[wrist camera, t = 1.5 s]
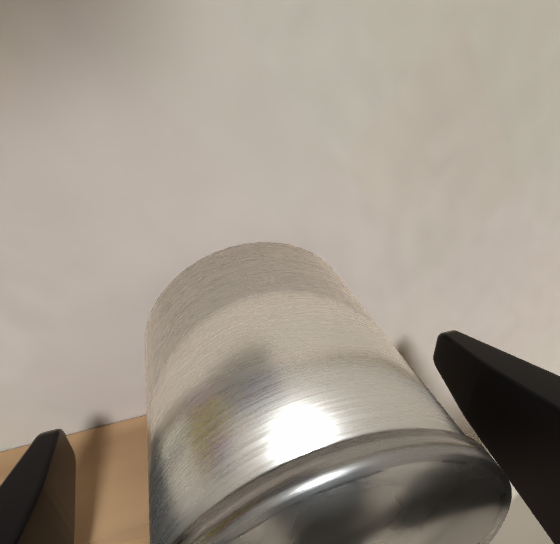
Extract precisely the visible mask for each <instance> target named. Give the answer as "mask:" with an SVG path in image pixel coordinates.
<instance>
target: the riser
mask: <svg viewBox="0 0 560 544" xmlns="http://www.w3.org/2000/svg"><path fill="white" fill-rule="evenodd" d="M66 437H67V439H68V441H69V443H70V445H71V447H72V449H73V451H74V453H75V458H76V490H75V537H74V544H150V534H149V491H148V448H147V415H144V416H141V417H137V418H133V419H129V420H125V421H121V422H117V423H113V424H109V425H105V426H101V427H97V428H93V429H89V430H86V431H82V432H78V433H74V434H70V435H66ZM29 446H30V445H27V446H23V447H19V448H15V449H11V450H7V451H3V452H0V485H1V484H2V483H3V481H4V480H5V479H6V477H7V476H8V474H9V473H10V472H11V470H12V469H13V468H14V466H15V465H16V464H17V462H18V461H19V460H20V458H21V457H22V456H23V454H24V453H25V452H26V450H27V449H28V448H29Z"/></svg>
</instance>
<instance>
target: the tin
mask: <svg viewBox="0 0 560 544" xmlns="http://www.w3.org/2000/svg"><path fill="white" fill-rule="evenodd" d="M145 361H146V404H147V448H148V491H149V534H150V544H489V543H490V542H491V540H492V539H493V538H494V536H495V535H496V534H497V532H498V530H499V528H500V527H501V525H502V523H503V522H504V520H505V518H506V515H507V513H508V511H509V507H510V503H511V499H512V492H511V485H510V482H509V479H508V477H507V476H506V475H505V473H504V472H503V471H502V469H501V468H500V467H499V466H498V464H497V463H496V462H495V461H494V460H493V458H492V457H491V456H490V455H489V454H488V452H487V451H486V450H485V449H484V447H483V446H482V445H480V444H479V443H478V442H476V441H475V440H474V439H472V438H470V437H467V436H465V435H464V433H463V432H462V431H461V430H460V428H459V427H458V426H457V425H456V423H455V422H454V421H453V420H452V418H451V417H450V416H449V415H448V413H447V412H446V411H445V410H444V408H443V407H442V406H441V405H440V403H439V402H438V401H437V400H436V398H435V397H434V396H433V395H432V393H431V392H430V391H429V390H428V388H427V387H426V386H425V385H424V383H423V382H422V381H421V380H420V378H419V377H418V376H417V375H416V373H415V372H414V371H413V370H412V368H411V367H410V366H409V365H408V363H407V362H406V361H405V360H404V358H403V357H402V356H401V355H400V353H399V352H398V351H397V350H396V348H395V347H394V346H393V345H392V343H391V342H390V341H389V340H388V338H387V337H386V336H385V335H384V333H383V332H382V331H381V330H380V328H379V327H378V326H377V325H376V323H375V322H374V321H373V320H372V318H371V317H370V316H369V315H368V313H367V312H366V311H365V310H364V308H363V307H362V306H361V305H360V303H359V302H358V301H357V300H356V298H355V297H354V296H353V295H352V293H351V292H350V291H349V290H348V288H347V287H346V286H345V285H344V283H343V282H342V281H341V280H340V278H339V277H338V276H337V275H336V273H335V272H334V271H333V270H332V268H331V267H330V266H329V265H328V264H327V263H325V262H324V261H323V260H322V259H321V258H319V257H317V256H316V255H314V254H313V253H311V252H308V251H306V250H304V249H302V248H299V247H295V246H292V245H288V244H281V243H270V242H259V243H249V244H243V245H238V246H234V247H229V248H227V249H224V250H221V251H218V252H215V253H213V254H211V255H209V256H207V257H205V258H203V259H201V260H199V261H198V262H196V263H195V264H193V265H191V266H190V267H188V268H187V269H186V270H184V271H183V272H182V273H181V274H180V275H178V276H177V277H176V278H175V279H174V280H173V281H172V282H171V283H170V284H169V285H168V286H167V288H166V289H165V290H164V291H163V293H162V294H161V296H160V297H159V298H158V300H157V302H156V304H155V305H154V307H153V309H152V311H151V314H150V317H149V320H148V323H147V327H146V333H145Z"/></svg>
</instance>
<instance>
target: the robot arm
mask: <svg viewBox="0 0 560 544" xmlns="http://www.w3.org/2000/svg"><path fill="white" fill-rule="evenodd" d="M433 360H434V364H435V366H436V368H437V370H438V371H439V373H440V375H441V377H442V378H443V380H444V382H445V384H446V385H447V387H448V389H449V391H450V392H451V394H452V396H453V398H454V399H455V401H456V403H457V405H458V406H459V408H460V410H461V412H462V413H463V415H464V416H465V418H466V419H467V421H468V422H469V424H470V425H471V427H472V428H473V430H474V431H475V432H476V434H477V435H478V437H479V438H480V439H481V441H482V442H483V444H484V445H485V447H486V448H487V449H488V451H489V452H490V454H491V455H492V456H493V458H494V459H495V461H496V462H497V464H498V465H499V466H500V468H501V469H502V471H503V472H504V473H505V475H506V476H507V477H508V479H509V480H510V482H511V483H512V485H513V486H514V488H515V489H516V490H517V492H518V493H519V495H520V496H521V497H522V499H523V500H524V502H525V503H526V504H527V506H528V507H529V509H530V510H531V512H532V513H533V514H534V516H535V517H536V519H537V520H538V521H539V523H540V524H541V526H542V527H543V528H544V530H545V531H546V533H547V534H548V536H549V537H550V538H551V540H552V541H553V543H554V544H560V376H558V375H556V374H554V373H551V372H549V371H547V370H544V369H542V368H540V367H538V366H535V365H533V364H531V363H529V362H526V361H524V360H522V359H519V358H517V357H515V356H513V355H510V354H508V353H506V352H504V351H501V350H499V349H497V348H494V347H492V346H490V345H488V344H485V343H483V342H481V341H479V340H476V339H474V338H472V337H469V336H467V335H465V334H463V333H460V332H458V331H455V330H452V331H448V332H444V333H441V334H440V335H439V336H438V338H437V342H436V347H435V351H434V356H433ZM75 490H76V458H75V453H74V451H73V449H72V447H71V445H70V443H69V441H68V439H67V437H66V435H65V433H64V431H63V430H62V429H55V430H51V431H47V432H43V433H41V434H39V435H38V436H37V437H36V438H35V440H34V441H33V442H32V444H31V445H30V446H29V448H28V449H27V450H26V452H25V453H24V454H23V456H22V457H21V458H20V460H19V461H18V462H17V464H16V465H15V466H14V468H13V469H12V470H11V472H10V473H9V474H8V476H7V477H6V479H5V480H4V481H3V483H2V484H1V485H0V544H74V537H75Z"/></svg>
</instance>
